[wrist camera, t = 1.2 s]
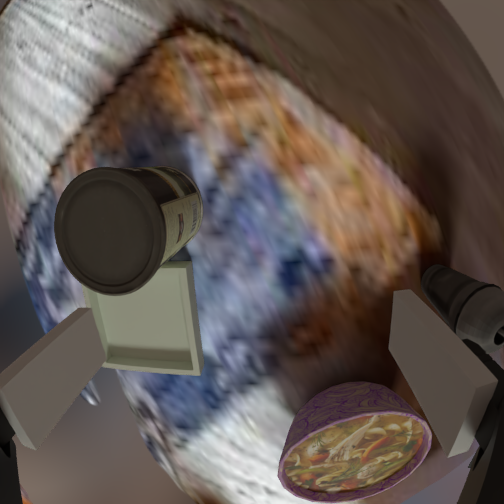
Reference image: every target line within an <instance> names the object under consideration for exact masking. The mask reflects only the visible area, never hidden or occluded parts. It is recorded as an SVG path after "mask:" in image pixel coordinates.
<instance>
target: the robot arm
mask: <svg viewBox="0 0 504 504" xmlns="http://www.w3.org/2000/svg"><path fill="white" fill-rule="evenodd" d="M388 349H389V351H390V352H391V354H392V356H393V357H394V359H395V361H396V363H397V364H398V366H399V368H400V370H401V371H402V373H403V375H404V377H405V378H406V380H407V382H408V384H409V386H410V387H411V389H412V391H413V393H414V395H415V396H416V398H417V400H418V402H419V404H420V406H421V407H422V409H423V411H424V413H425V415H426V417H427V419H428V421H429V423H430V424H431V426H432V428H433V430H434V432H435V434H436V436H437V438H438V440H439V442H440V444H441V446H442V448H443V450H444V452H445V454H446V456H447V458H448V457H451V456H454V455H457V454H460V453H463V452H466V451H468V450H469V448H470V446H471V444H472V442H473V440H474V438H476V440H477V442H478V443H479V445H480V446H479V448H478V450H477V452H476V453H475V455H474V457H473V459H472V461H471V462H470V464H469V466H468V468H471V469H470V472H469V474H468V477H467V480H466V483H465V485H464V488H463V490H462V493H461V495H460V497H459V500H458V502H457V504H504V370H503V369H502V368H501V367H500V366H499V365H498V364H497V363H496V362H495V361H494V360H492V357H491V356H490V355H489V354H486V351H485V350H484V349H483V348H482V347H481V346H480V345H479V344H477V343H475V342H473V341H471V340H469V339H463V340H461V339H460V338H459V337H458V336H457V335H456V334H455V333H454V332H453V331H452V330H451V329H450V328H449V327H448V326H447V325H446V324H445V323H444V322H443V321H442V320H441V319H440V318H439V317H438V316H437V315H436V314H435V313H434V312H433V311H432V310H431V309H430V308H429V307H428V306H427V305H426V304H425V303H424V302H423V301H422V300H421V299H420V298H419V297H418V296H417V295H416V294H415V293H413V292H412V291H411V290H410V289H409V290H400V291H394V295H393V308H392V320H391V330H390V339H389V347H388ZM106 360H107V358H106V355H105V352H104V349H103V345H102V342H101V339H100V336H99V332H98V329H97V326H96V322H95V318H94V315H93V311H92V308H78V309H77V310H75V311H74V312H73V313H72V314H70V315H69V316H68V317H67V318H65V319H64V320H63V321H62V322H61V323H59V324H58V325H57V326H56V327H54V328H53V329H52V330H51V331H50V332H48V333H47V334H46V335H45V336H44V337H43V338H41V339H40V340H39V341H38V342H36V343H35V344H34V345H33V346H32V347H31V348H29V349H28V350H27V351H26V352H25V353H24V354H22V355H21V356H20V357H19V358H18V359H17V360H15V361H14V362H13V363H12V364H11V365H10V366H9V367H8V368H7V369H5V370H4V371H3V372H2V373H1V374H0V504H23V503H22V497H21V490H20V483H19V476H18V467H17V457H16V446H15V443H14V441H13V440H12V437H13V436H14V434H16V435H17V437H18V438H19V440H20V441H21V443H22V444H23V445H24V446H26V447H29V448H31V449H34V450H38V448H39V447H40V445H41V444H42V443H43V441H44V440H45V439H46V437H47V436H48V435H49V433H50V432H51V431H52V429H53V428H54V427H55V425H56V424H57V422H58V421H59V420H60V418H61V417H62V416H63V415H64V413H65V412H66V411H67V409H68V408H69V407H70V405H71V404H72V403H73V401H74V400H75V399H76V398H77V396H78V395H79V394H80V392H81V391H82V390H83V389H84V387H85V386H86V385H87V384H88V382H89V381H90V380H91V378H92V377H93V376H94V374H95V373H96V372H97V371H98V370H99V368H100V367H101V366H102V365H103V363H104V362H105V361H106Z"/></svg>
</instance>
